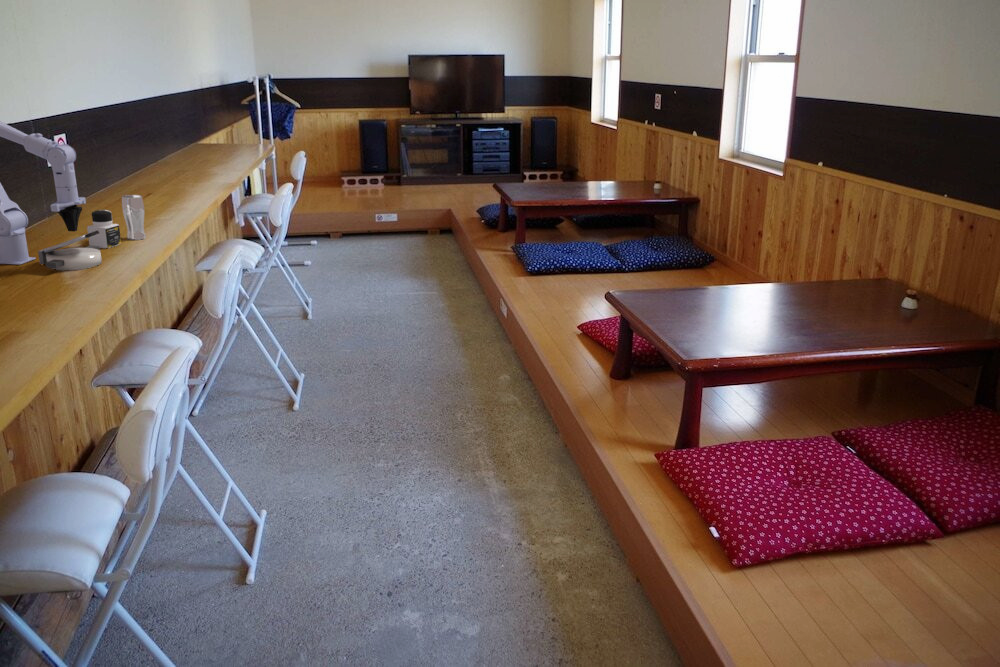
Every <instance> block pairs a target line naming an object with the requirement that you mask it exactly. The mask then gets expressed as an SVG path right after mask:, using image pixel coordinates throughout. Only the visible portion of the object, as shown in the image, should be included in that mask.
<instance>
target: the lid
mask: <svg viewBox="0 0 1000 667" xmlns="http://www.w3.org/2000/svg"><path fill="white" fill-rule="evenodd" d="M96 234H99V231H98V230H97V231H95V232H91V233H88V232H87V233H86V234H83V235H80V236H78V237H75V238H72V239H69V240H66V241H64V242H61V243H58V244H55V245H52V246H49V247H50V248H48V247H46V248H47V249H46V248H44V250H43V249H42V250H43V253H48V252H51V251H53V250H54V251H55V250H60V249H61V248H64V247H67V246H70V245H73V244H76V243H78V242H81V241H83V240H86V239H89V237H92V236H94V235H96Z"/></svg>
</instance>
